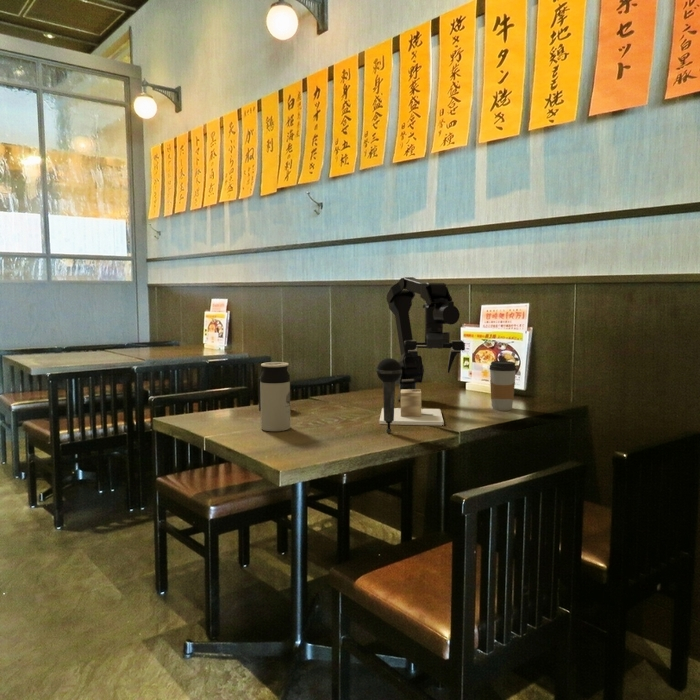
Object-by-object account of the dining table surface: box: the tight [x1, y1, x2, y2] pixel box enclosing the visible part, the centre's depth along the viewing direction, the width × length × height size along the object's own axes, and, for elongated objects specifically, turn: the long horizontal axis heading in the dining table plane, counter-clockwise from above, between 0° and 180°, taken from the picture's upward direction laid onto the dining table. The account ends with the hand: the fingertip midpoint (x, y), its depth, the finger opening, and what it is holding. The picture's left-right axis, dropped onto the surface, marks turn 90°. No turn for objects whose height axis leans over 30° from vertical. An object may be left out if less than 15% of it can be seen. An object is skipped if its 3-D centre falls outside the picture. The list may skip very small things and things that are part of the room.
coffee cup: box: [489, 360, 517, 412], centre depth 182 cm, size 8×8×15 cm
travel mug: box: [259, 361, 291, 433], centre depth 156 cm, size 8×8×18 cm
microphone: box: [375, 357, 402, 434], centre depth 151 cm, size 7×7×20 cm
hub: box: [378, 407, 445, 426], centre depth 170 cm, size 18×18×6 cm
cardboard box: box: [400, 388, 422, 417], centre depth 170 cm, size 6×6×7 cm
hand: (433, 372), depth 180 cm, fingers open, 9 cm apart
